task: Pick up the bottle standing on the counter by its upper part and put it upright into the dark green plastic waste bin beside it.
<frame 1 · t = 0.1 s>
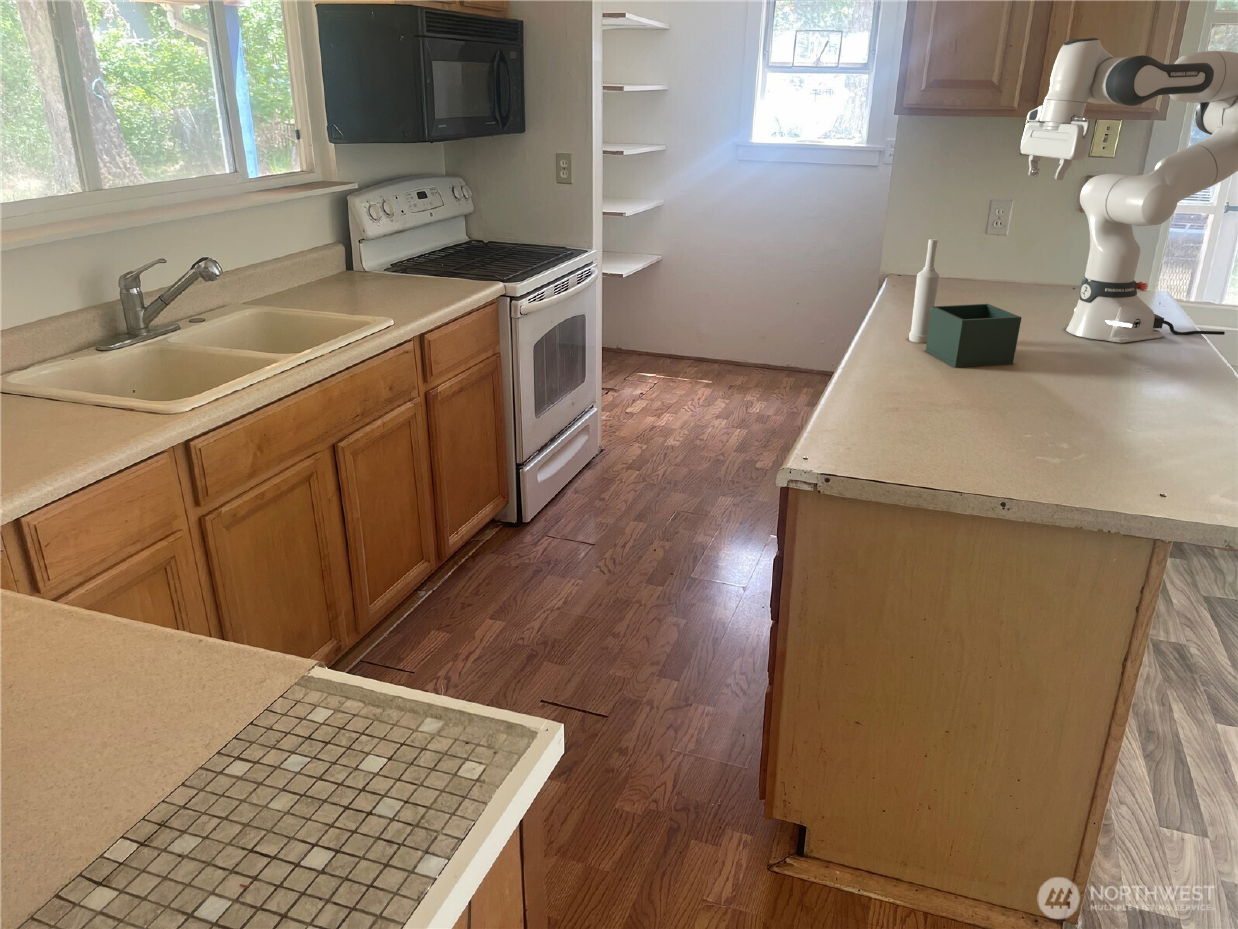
hand: (1044, 177, 205), 39 cm above the countertop, tool pointing down, fingers open, 8 cm apart
bin: (968, 357, 206), on the countertop
bottle: (919, 341, 220), on the countertop
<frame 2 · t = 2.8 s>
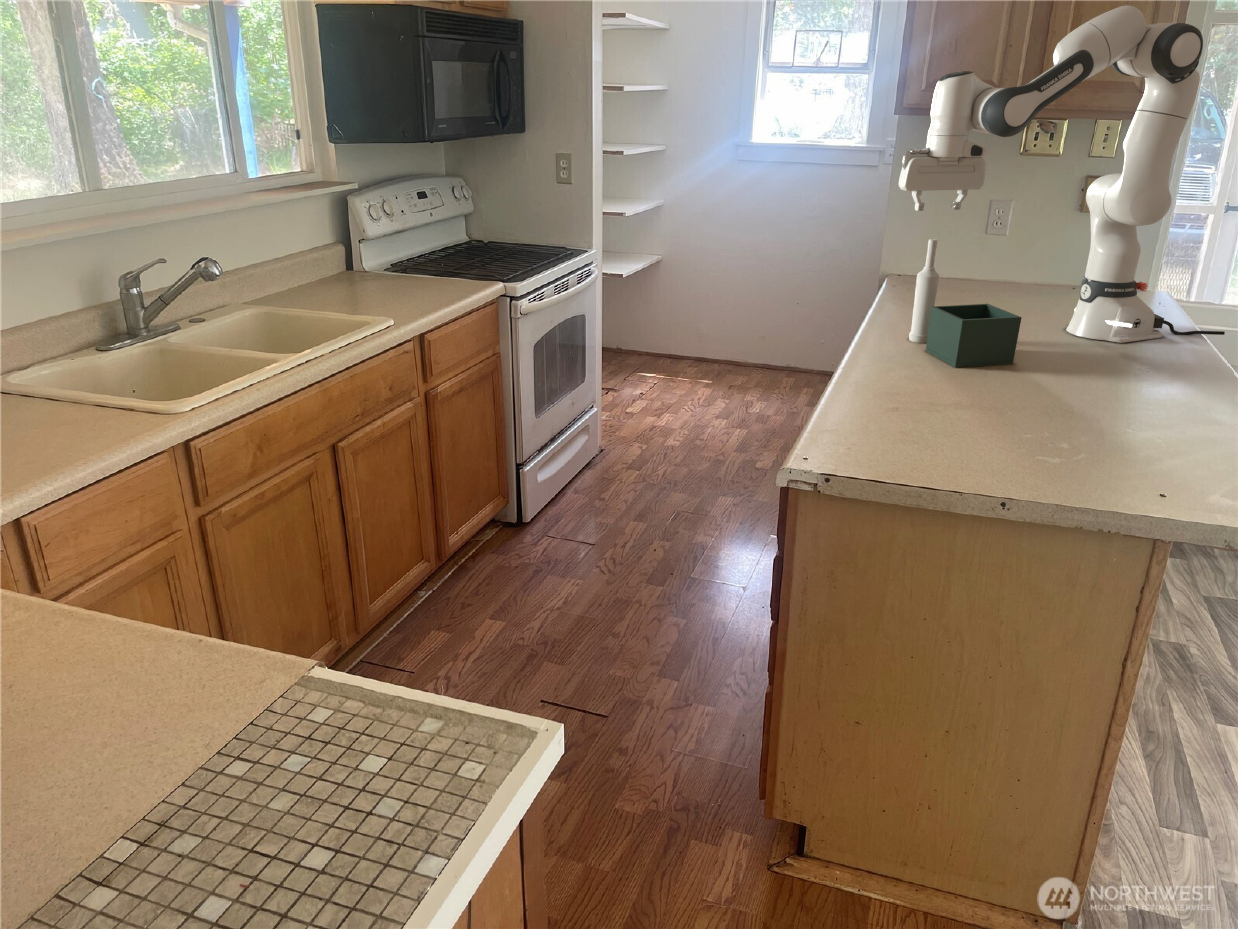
hand: (937, 209, 207), 32 cm above the countertop, tool pointing down, fingers open, 8 cm apart
nothing on the countertop moved.
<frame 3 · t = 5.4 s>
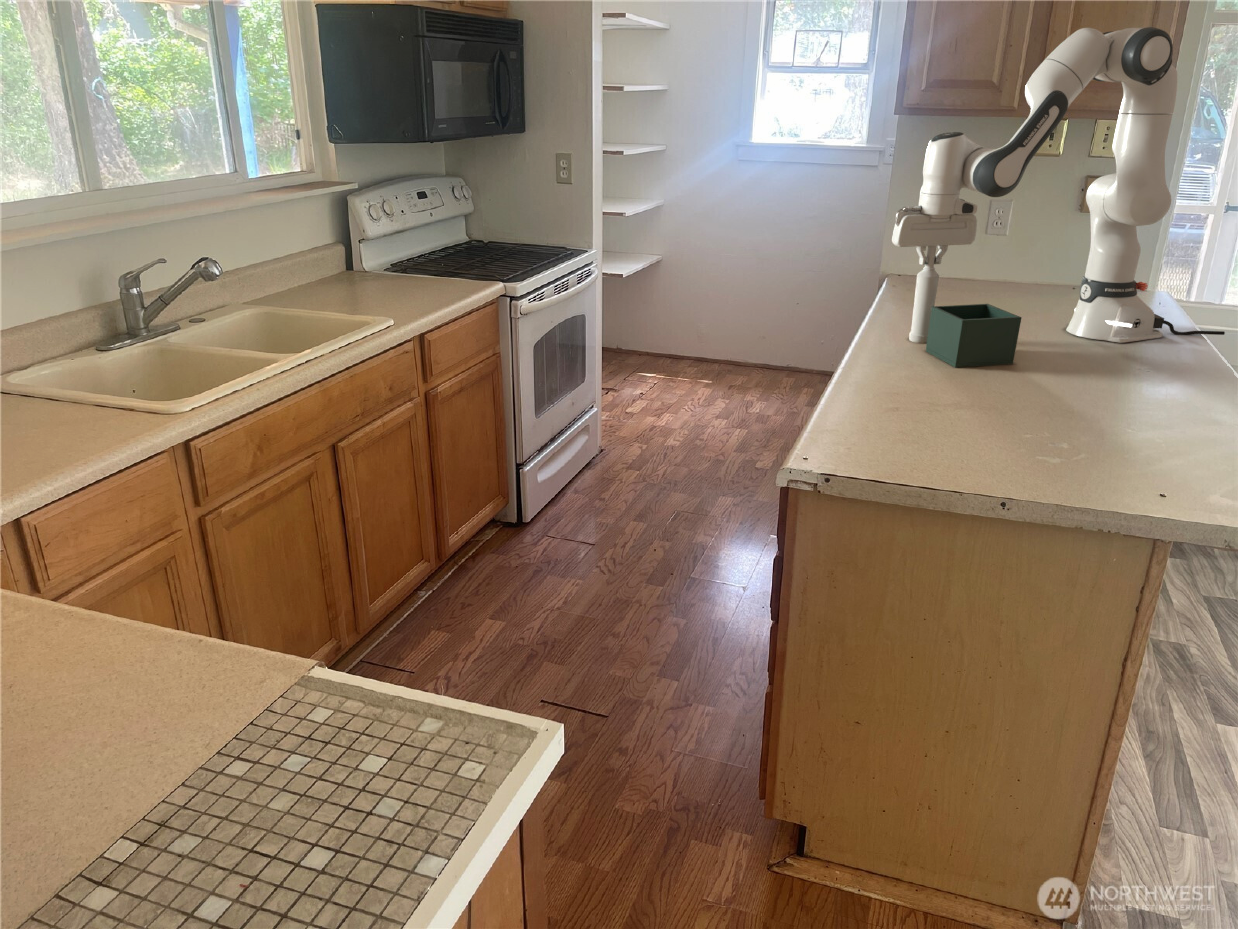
hand: (929, 264, 212), 19 cm above the countertop, tool pointing down, fingers closed on bottle, 2 cm apart
bottle: (919, 341, 220), on the countertop, touching gripper
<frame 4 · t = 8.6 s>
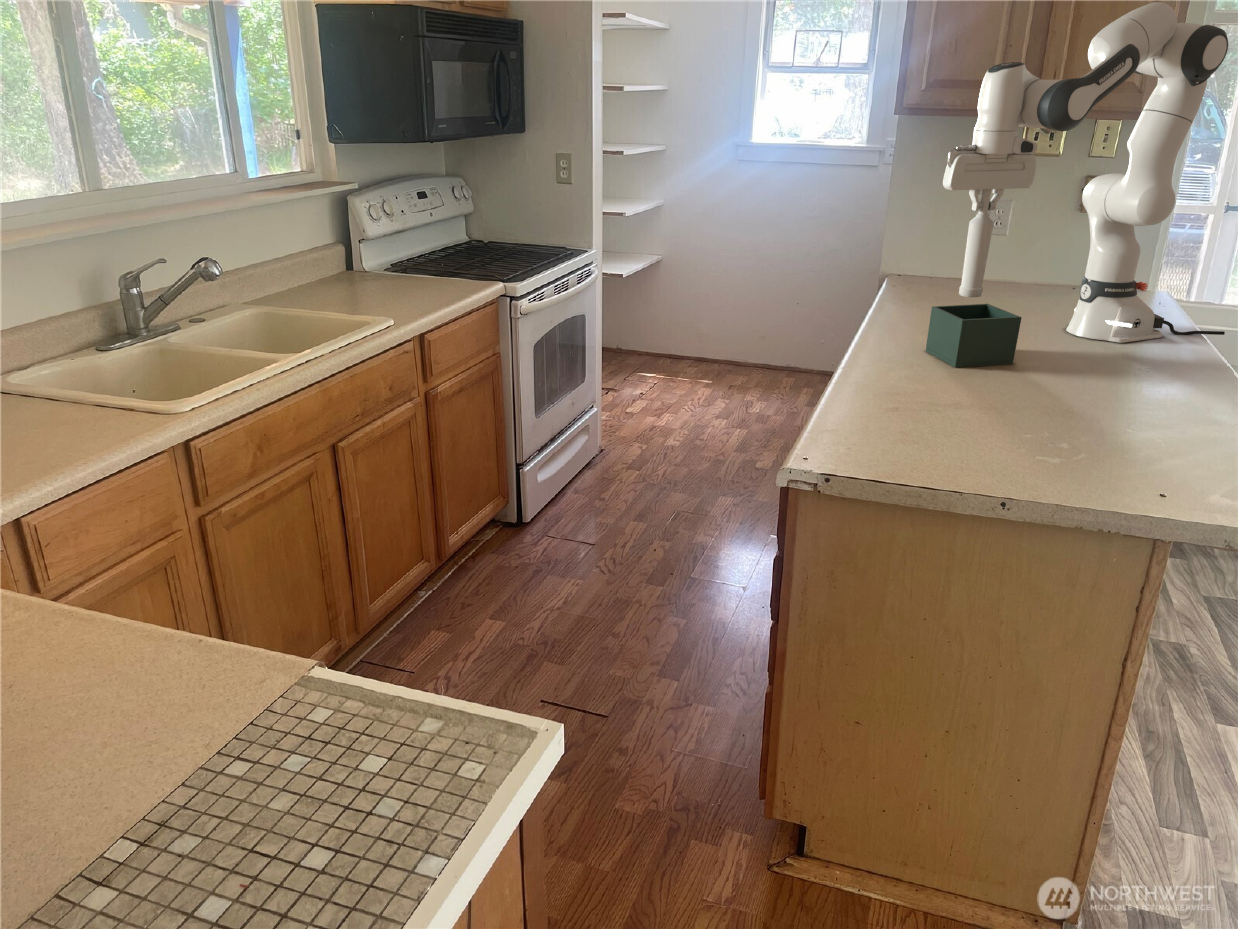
hand: (983, 210, 194), 33 cm above the countertop, tool pointing down, fingers closed on bottle
bottle: (970, 295, 202), point 14 cm above the countertop, touching gripper
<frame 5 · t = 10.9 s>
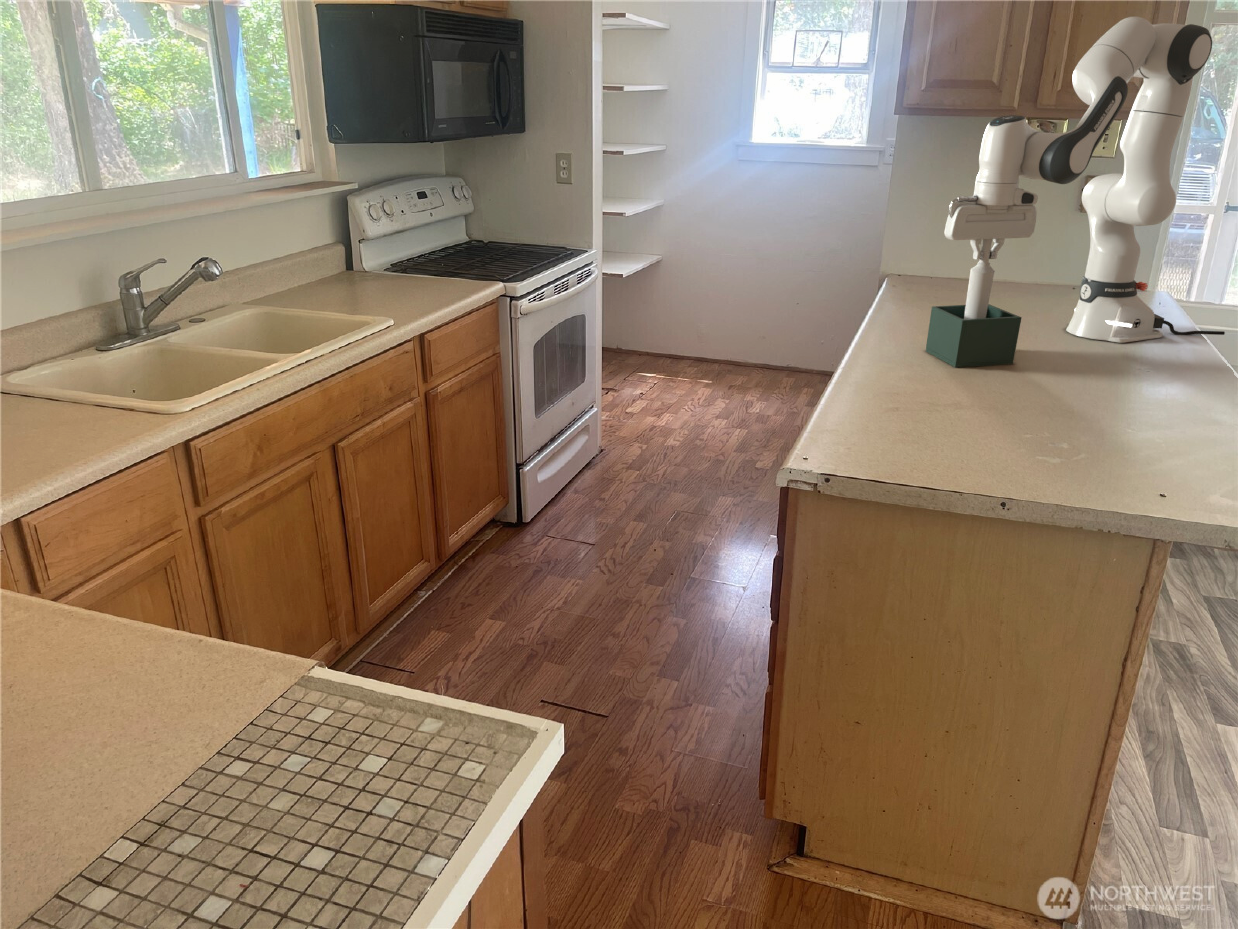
hand: (984, 258, 196), 23 cm above the countertop, tool pointing down, fingers closed on bottle
bottle: (970, 341, 204), point 4 cm above the countertop, touching gripper
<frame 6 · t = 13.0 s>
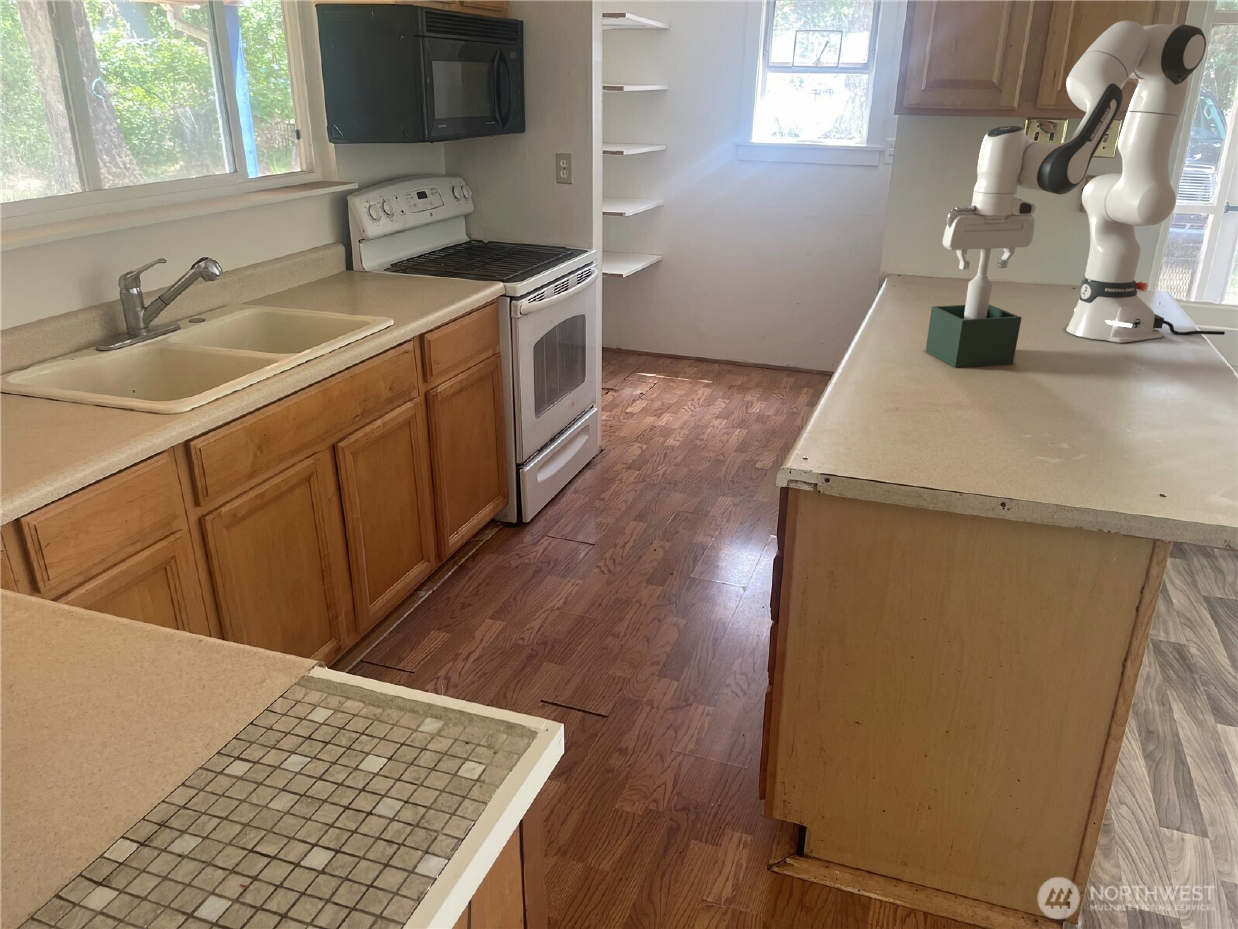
hand: (982, 268, 197), 21 cm above the countertop, tool pointing down, fingers open, 8 cm apart
bottle: (968, 354, 205), point 1 cm above the countertop, touching bin
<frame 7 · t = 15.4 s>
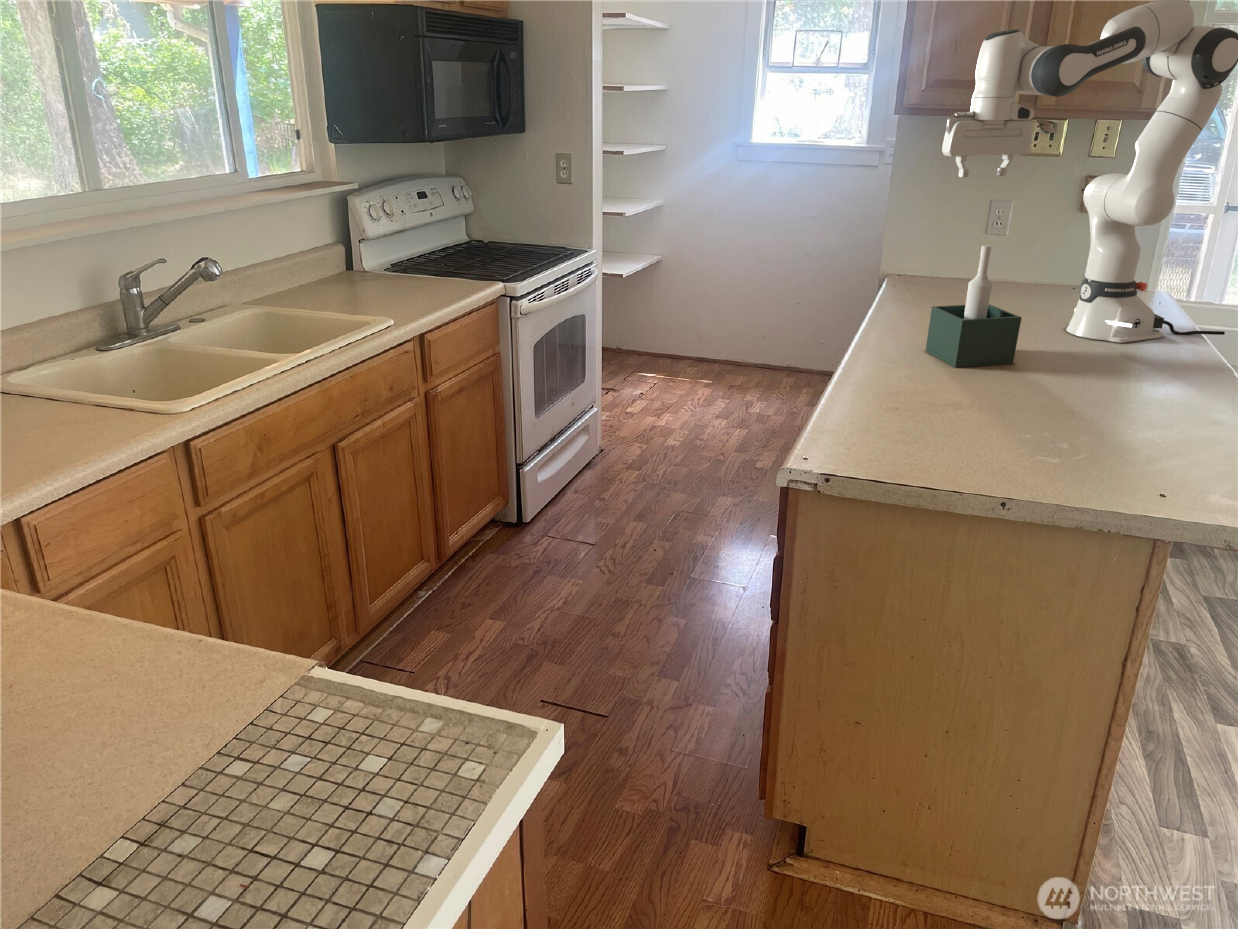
hand: (981, 176, 199), 40 cm above the countertop, tool pointing down, fingers open, 8 cm apart
nothing on the countertop moved.
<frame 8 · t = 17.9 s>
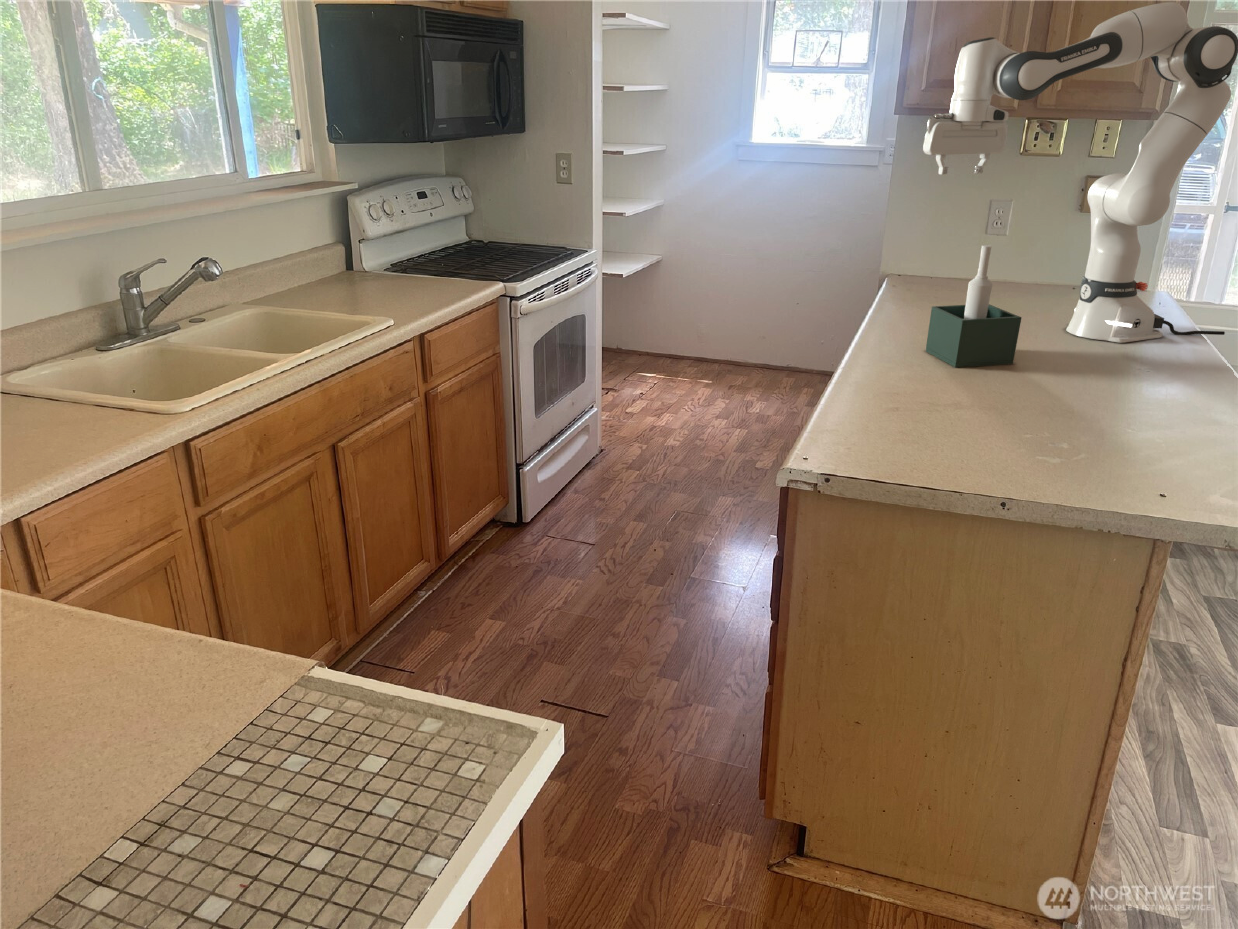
hand: (960, 173, 213), 39 cm above the countertop, tool pointing down, fingers open, 8 cm apart
nothing on the countertop moved.
at the end: bottle inside the target area in the bin (0.1 cm from its centre), point 0.8 cm above the bin's base; the gripper is holding nothing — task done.
